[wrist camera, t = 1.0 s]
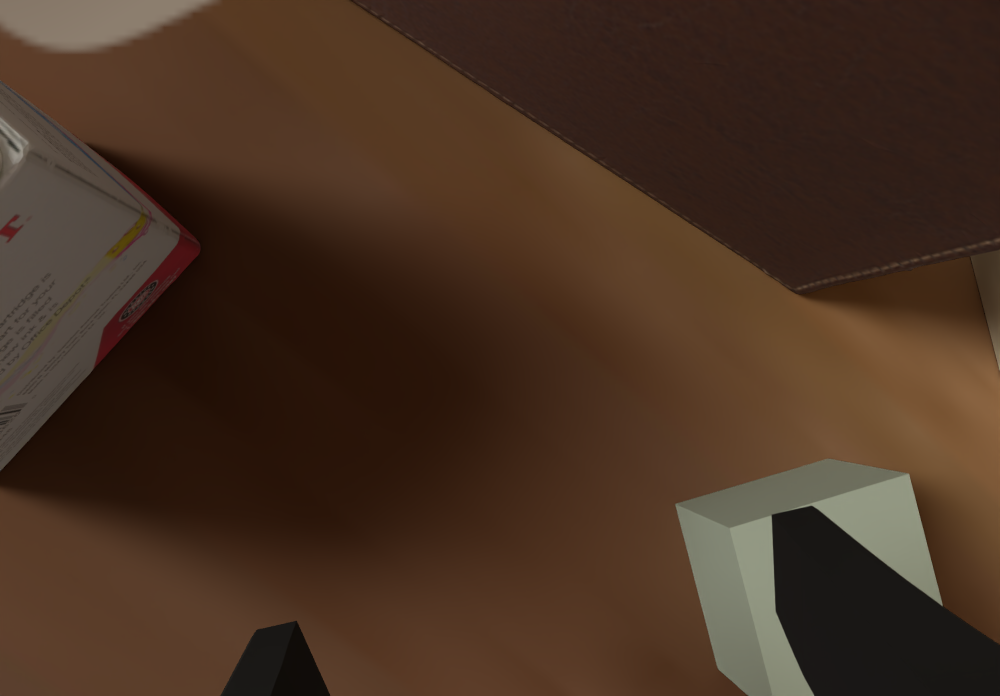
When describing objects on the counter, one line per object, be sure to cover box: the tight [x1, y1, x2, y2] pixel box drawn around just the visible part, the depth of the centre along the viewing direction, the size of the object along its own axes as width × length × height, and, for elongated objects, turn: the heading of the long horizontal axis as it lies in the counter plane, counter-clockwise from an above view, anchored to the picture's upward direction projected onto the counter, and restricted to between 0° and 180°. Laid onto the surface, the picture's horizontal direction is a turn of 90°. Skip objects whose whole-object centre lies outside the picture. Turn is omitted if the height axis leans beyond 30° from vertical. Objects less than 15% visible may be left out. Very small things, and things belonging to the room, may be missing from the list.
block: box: [675, 459, 943, 696], centre depth 23 cm, size 5×5×4 cm
